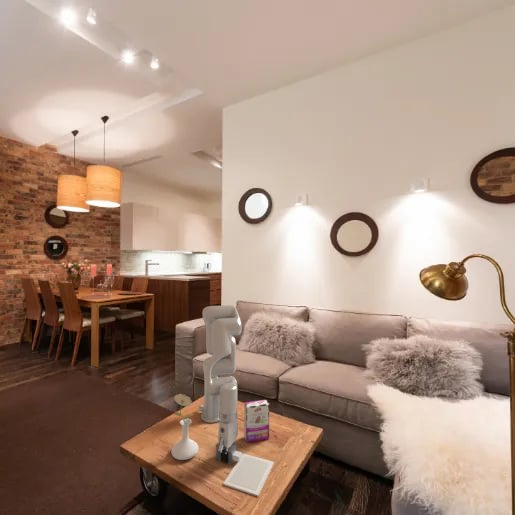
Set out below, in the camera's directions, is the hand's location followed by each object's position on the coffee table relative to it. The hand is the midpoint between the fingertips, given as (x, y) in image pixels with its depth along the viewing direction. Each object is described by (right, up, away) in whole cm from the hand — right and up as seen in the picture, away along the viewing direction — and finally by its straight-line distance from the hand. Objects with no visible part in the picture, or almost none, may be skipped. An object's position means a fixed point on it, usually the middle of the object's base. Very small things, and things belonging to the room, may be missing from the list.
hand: (227, 457), depth 121 cm
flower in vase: (-19, -1, +3) cm, 19 cm away
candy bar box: (+12, -1, +15) cm, 19 cm away
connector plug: (0, -1, 0) cm, 1 cm away
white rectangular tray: (+10, -1, -8) cm, 13 cm away
